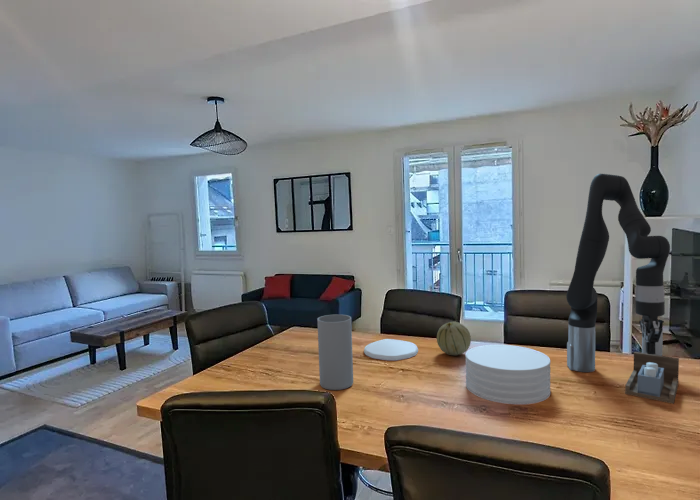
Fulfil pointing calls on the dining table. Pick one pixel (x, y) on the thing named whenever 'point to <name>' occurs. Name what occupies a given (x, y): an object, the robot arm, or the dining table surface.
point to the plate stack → (508, 374)
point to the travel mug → (657, 345)
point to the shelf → (669, 376)
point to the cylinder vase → (335, 351)
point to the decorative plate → (391, 349)
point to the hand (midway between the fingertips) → (650, 353)
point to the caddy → (650, 379)
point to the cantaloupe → (453, 338)
